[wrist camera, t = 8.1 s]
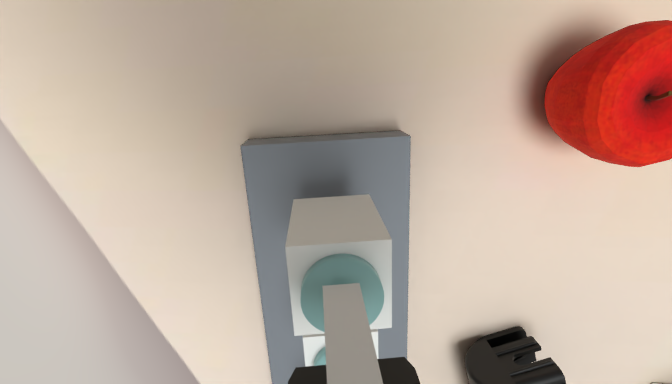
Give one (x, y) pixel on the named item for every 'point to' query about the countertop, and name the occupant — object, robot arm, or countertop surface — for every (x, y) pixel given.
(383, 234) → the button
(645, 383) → the countertop surface
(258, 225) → the mount
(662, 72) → the apple
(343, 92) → the countertop surface
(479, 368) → the end cap
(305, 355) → the button mid
